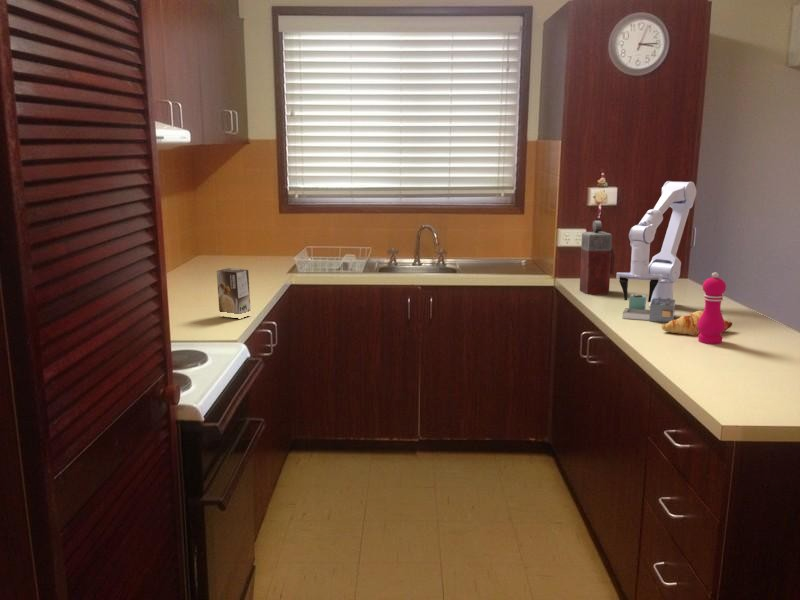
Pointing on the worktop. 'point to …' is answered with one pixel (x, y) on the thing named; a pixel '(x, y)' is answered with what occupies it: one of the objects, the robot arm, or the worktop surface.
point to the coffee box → (233, 291)
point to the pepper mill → (712, 311)
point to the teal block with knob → (637, 302)
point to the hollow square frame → (653, 311)
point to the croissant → (688, 324)
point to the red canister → (596, 261)
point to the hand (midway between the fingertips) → (637, 300)
